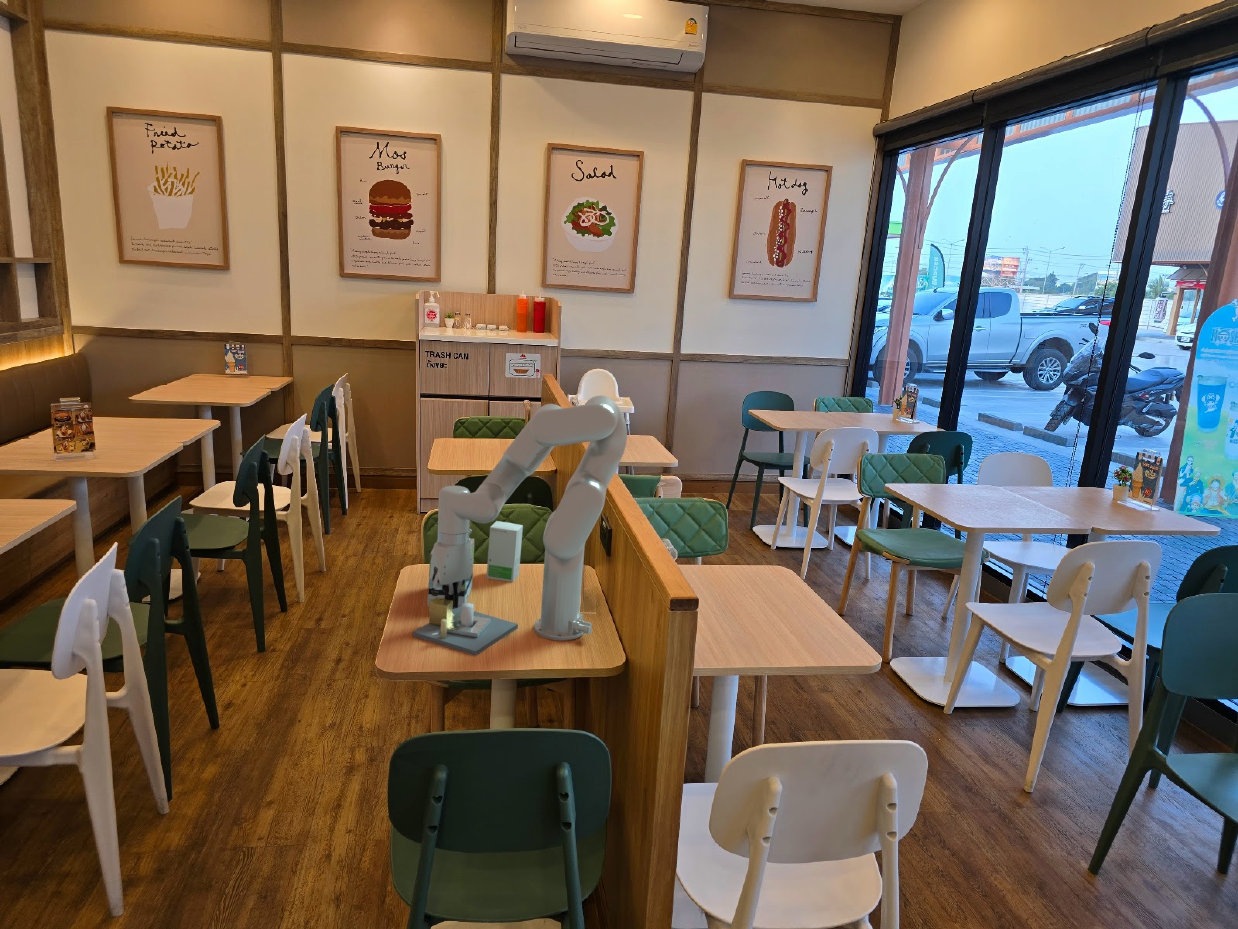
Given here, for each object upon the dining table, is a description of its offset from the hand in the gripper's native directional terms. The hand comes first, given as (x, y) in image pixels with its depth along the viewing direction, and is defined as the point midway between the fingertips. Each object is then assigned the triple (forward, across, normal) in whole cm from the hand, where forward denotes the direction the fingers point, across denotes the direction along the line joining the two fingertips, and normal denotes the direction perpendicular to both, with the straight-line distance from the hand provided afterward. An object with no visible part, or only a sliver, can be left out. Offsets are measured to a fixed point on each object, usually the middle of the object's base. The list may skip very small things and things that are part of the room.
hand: (451, 606), depth 203 cm
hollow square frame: (+3, +2, +5) cm, 6 cm away
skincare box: (+4, -30, -15) cm, 34 cm away
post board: (+4, +1, +7) cm, 8 cm away
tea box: (+4, -10, -13) cm, 17 cm away
